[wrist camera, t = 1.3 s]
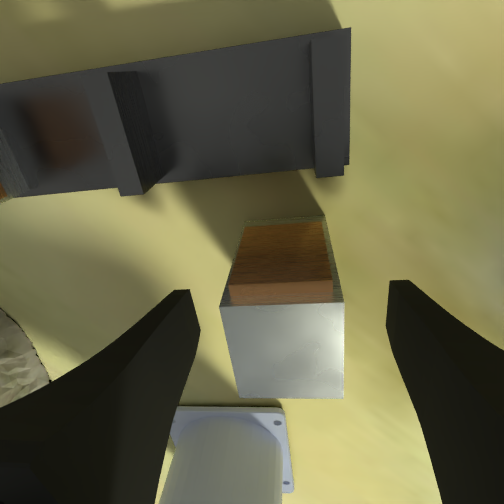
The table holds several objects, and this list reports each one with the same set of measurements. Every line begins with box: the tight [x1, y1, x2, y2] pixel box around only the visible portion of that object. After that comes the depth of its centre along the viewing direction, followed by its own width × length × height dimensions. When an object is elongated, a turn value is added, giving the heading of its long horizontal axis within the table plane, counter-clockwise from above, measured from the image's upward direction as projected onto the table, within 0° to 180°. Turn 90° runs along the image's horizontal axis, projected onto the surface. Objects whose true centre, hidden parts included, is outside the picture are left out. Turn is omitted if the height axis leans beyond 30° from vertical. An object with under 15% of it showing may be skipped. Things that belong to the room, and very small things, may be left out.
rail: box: [0, 27, 351, 204], centre depth 10 cm, size 18×4×8 cm, turn 97°
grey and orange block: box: [219, 215, 344, 399], centre depth 13 cm, size 4×4×6 cm
